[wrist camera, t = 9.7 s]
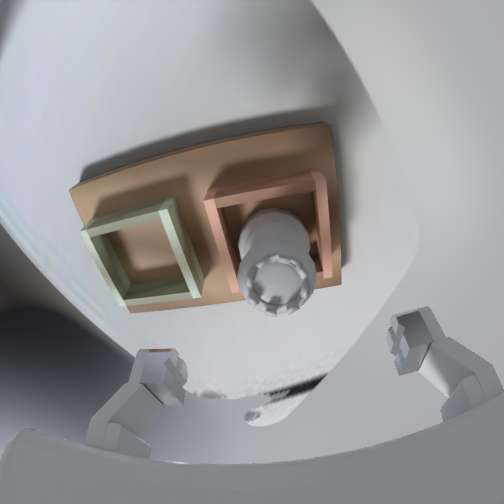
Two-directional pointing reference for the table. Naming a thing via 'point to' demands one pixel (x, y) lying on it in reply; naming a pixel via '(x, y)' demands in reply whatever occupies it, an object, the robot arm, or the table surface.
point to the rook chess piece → (275, 262)
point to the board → (207, 214)
